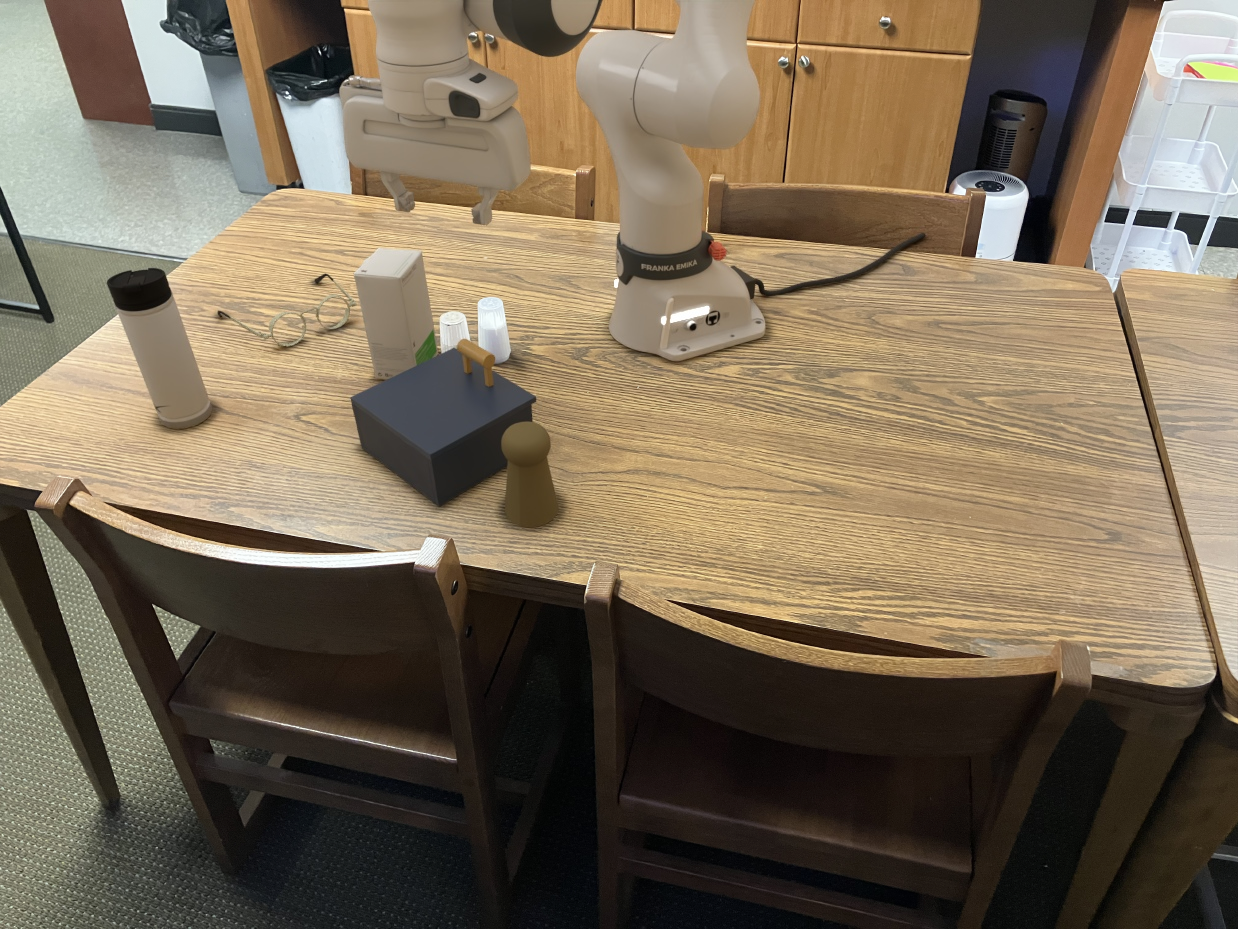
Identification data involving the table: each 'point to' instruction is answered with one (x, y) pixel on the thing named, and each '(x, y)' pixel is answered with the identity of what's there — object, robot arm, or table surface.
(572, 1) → the robot arm
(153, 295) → the travel mug
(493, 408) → the lid
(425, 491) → the chest
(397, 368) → the cosmetic box
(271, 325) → the round eyeglasses
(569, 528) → the table surface
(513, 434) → the brown pawn
